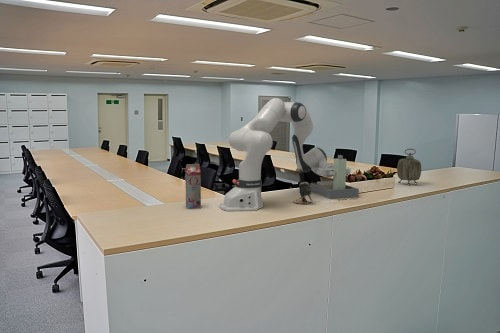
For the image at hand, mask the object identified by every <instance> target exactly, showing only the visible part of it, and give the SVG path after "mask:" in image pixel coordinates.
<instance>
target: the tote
mask: <svg viewBox="0 0 500 333" xmlns="http://www.w3.org/2000/svg"><path fill="white" fill-rule="evenodd" d="M316 183H317V182H310V183H309V185H310V187H311V193H314V194H316V195H318V196H321V197H324V198H326V199H329V200H340V201H348V200H347V199H356V200H359V195H360V194H359V191H360V190H359V188H358V187H354V186H350V185H349V184H346V185H345V189H339V190H330V189H327V188H324V187H322V186H319V185H316Z"/></svg>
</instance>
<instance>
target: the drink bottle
mask: <svg viewBox="0 0 500 333" xmlns="http://www.w3.org/2000/svg"><path fill="white" fill-rule="evenodd" d="M343 157H344V156H343V155H341V154H338V155H337V158H333V164H334V171H335V172H337V173H336V174H337V175H333V178H332V179H333V180H332V181H333V190H339V189H345V185H347V184H346V181H347V175H346V167H347V158H343Z"/></svg>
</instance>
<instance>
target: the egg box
mask: <svg viewBox="0 0 500 333" xmlns="http://www.w3.org/2000/svg"><path fill="white" fill-rule="evenodd" d="M315 183H316V185H319V186H322V187H324V188H327V189H330V190H333V180H330V181H327V180H326V181H317V182H315Z"/></svg>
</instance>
